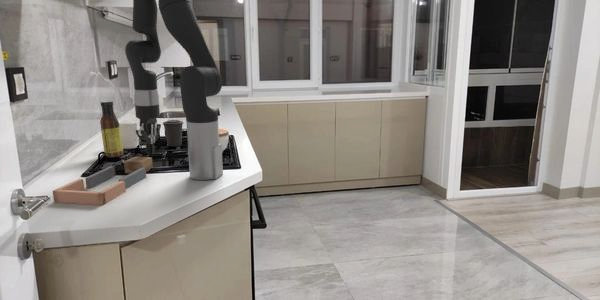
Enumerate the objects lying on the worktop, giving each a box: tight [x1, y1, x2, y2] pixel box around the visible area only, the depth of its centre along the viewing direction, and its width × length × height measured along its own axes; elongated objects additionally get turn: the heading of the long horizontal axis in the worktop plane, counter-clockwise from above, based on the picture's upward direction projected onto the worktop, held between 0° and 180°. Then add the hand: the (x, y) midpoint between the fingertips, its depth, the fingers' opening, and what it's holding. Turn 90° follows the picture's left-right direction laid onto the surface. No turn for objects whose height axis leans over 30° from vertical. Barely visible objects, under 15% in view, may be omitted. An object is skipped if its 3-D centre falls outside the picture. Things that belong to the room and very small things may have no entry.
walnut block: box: [123, 156, 154, 174], centre depth 133 cm, size 6×6×4 cm
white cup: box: [118, 119, 140, 150], centre depth 164 cm, size 8×8×10 cm
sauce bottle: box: [99, 100, 124, 158], centre depth 149 cm, size 7×6×20 cm
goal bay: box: [52, 178, 127, 206], centre depth 110 cm, size 14×10×3 cm
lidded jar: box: [218, 128, 230, 153], centre depth 157 cm, size 11×11×9 cm
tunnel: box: [84, 165, 147, 190], centre depth 122 cm, size 11×12×3 cm
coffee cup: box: [162, 119, 184, 147], centre depth 168 cm, size 8×8×10 cm
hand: (150, 154), depth 141 cm, fingers closed
